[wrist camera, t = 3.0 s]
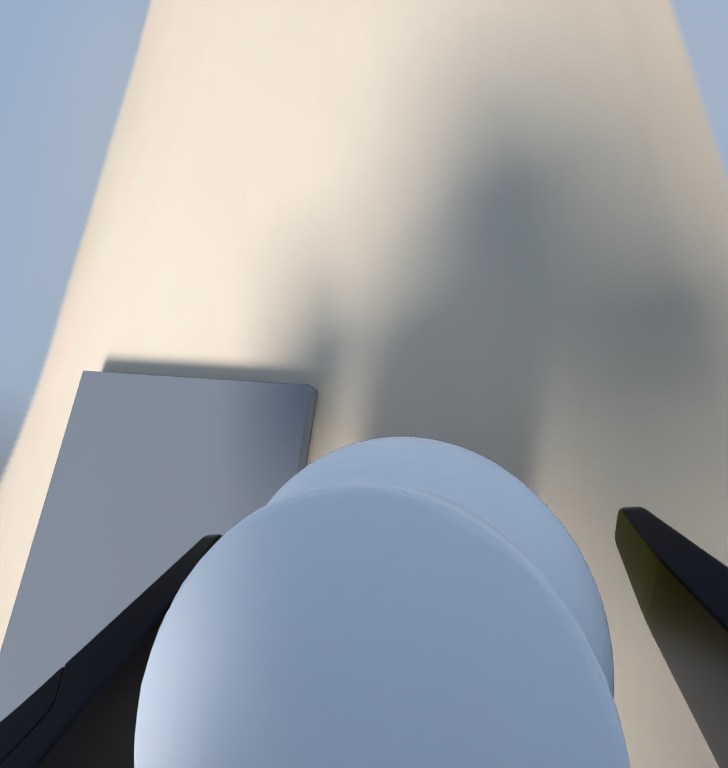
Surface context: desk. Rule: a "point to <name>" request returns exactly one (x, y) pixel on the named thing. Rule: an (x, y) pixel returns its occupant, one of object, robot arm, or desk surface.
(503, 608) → the supplement bottle
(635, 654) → the desk surface
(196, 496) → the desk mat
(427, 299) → the desk surface
